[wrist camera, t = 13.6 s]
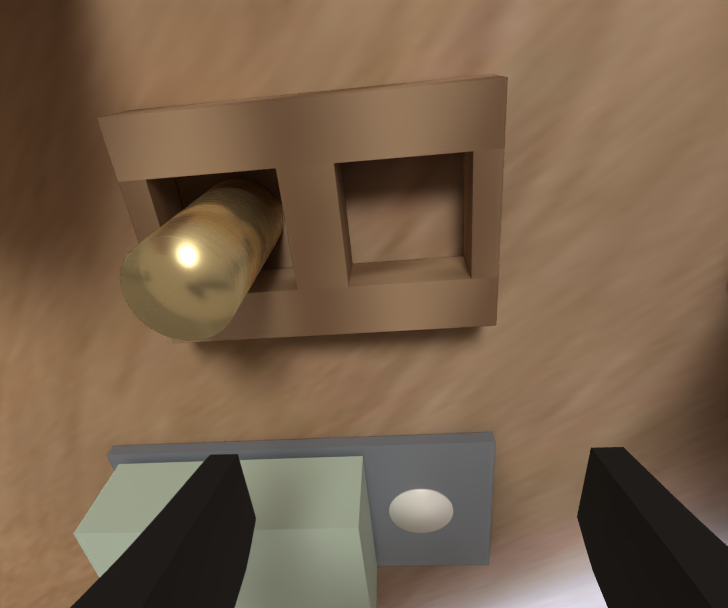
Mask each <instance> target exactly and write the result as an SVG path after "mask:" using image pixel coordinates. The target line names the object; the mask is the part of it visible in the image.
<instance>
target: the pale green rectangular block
mask: <svg viewBox="0 0 728 608" xmlns="http://www.w3.org/2000/svg"><path fill="white" fill-rule="evenodd" d="M203 462H204V461H196V462H166V463H136V464H119V465H118V466H117V468H116V469H115V471H114V472H113V474H112V475H111V477H110V478H109V480H108V481H107V483H106V485H105V486H104V488H103V489H102V491H101V492H100V494H99V495H98V497H97V498H96V500H95V501H94V503H93V504H92V506H91V508H90V509H89V511H88V512H87V514H86V515H85V517H84V518H83V520H82V521H81V523H80V524H79V526H78V527H77V529H76V531H75V532H74V535H75V537H76V539H77V540H78V542H79V544H80V546H81V547H82V549H83V551H84V552H85V554H86V556H87V557H88V559H89V561H90V562H91V564H92V566H93V568H94V569H95V571H96V573H97V574H98V576H99V578H100V577H101V576H102V575H103V574H104V573H105V572H106V571H107V570H108V569H109V567H110V566H111V565H112V564H113V563H114V562H115V561H116V560H117V559H118V558H119V557H120V556H121V555H122V554H123V553H124V552H125V551H126V550H127V548H128V547H129V546H130V545H131V544H132V543H133V542H134V541H135V540H136V538H137V537H138V536H139V535H140V534H141V533H142V532H143V531H144V530H145V528H146V527H147V526H148V525H149V524H150V523H151V522H152V521H153V519H154V518H155V517H156V516H157V515H158V514H159V513H160V512H161V510H162V509H163V508H164V507H165V506H166V505H167V504H168V502H169V501H170V500H171V499H172V498H173V497H174V495H175V494H176V493H177V492H178V491H179V490H180V488H181V487H182V486H183V485H184V484H185V483H186V481H187V480H188V479H189V478H190V477H191V476H192V474H193V473H194V472H195V471H196V470H197V469H198V467H199V466H200V465H201V464H202V463H203ZM240 463H241V467H242V470H243V474H244V477H245V481H246V484H247V488H248V491H249V495H250V498H251V502H252V505H253V509H254V512H255V516H256V522H255V528H254V533H253V539H252V544H251V549H250V554H249V559H248V564H247V569H246V572H245V576H244V579H243V582H242V586H241V589H240V592H239V595H238V599H237V602H236V605H235V608H377V561H376V554H375V546H374V538H373V530H372V523H371V515H370V507H369V500H368V492H367V484H366V476H365V469H364V461H363V456H347V457H317V458H286V459H256V460H240Z"/></svg>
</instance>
